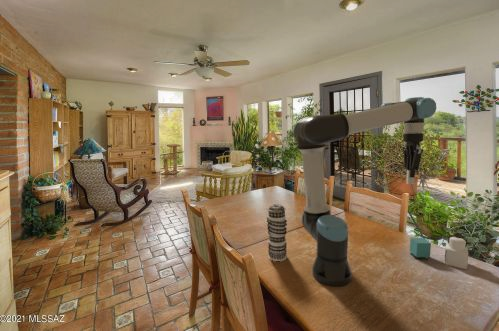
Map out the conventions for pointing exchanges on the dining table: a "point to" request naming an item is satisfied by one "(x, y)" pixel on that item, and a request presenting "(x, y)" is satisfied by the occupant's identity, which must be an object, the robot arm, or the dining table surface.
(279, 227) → the model tower building
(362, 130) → the robot arm
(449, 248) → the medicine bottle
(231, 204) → the dining table surface
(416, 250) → the teal cube
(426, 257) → the dark grey upright block
